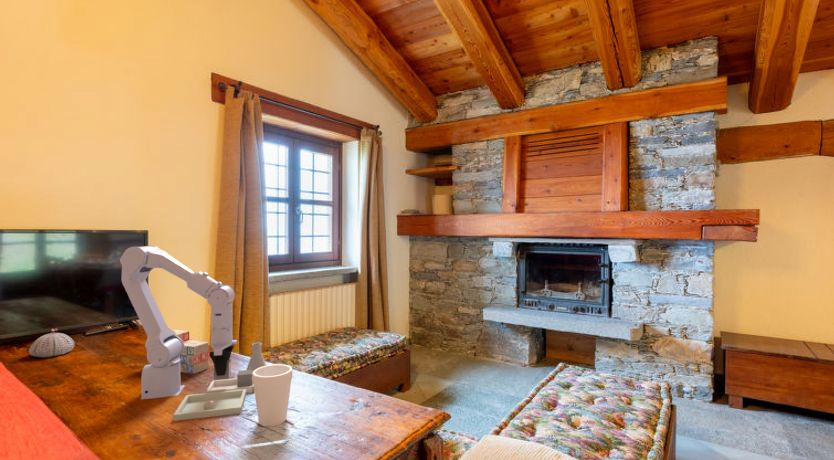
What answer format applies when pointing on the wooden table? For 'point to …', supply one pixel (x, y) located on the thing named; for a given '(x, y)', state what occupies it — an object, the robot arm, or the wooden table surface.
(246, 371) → the grey cube
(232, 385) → the dish
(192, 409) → the bin
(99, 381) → the wooden table surface
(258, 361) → the flask
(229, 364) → the grey cube
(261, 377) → the foam cup
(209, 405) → the pale pink ball
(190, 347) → the cardboard box
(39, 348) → the sea urchin shell
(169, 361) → the robot arm
